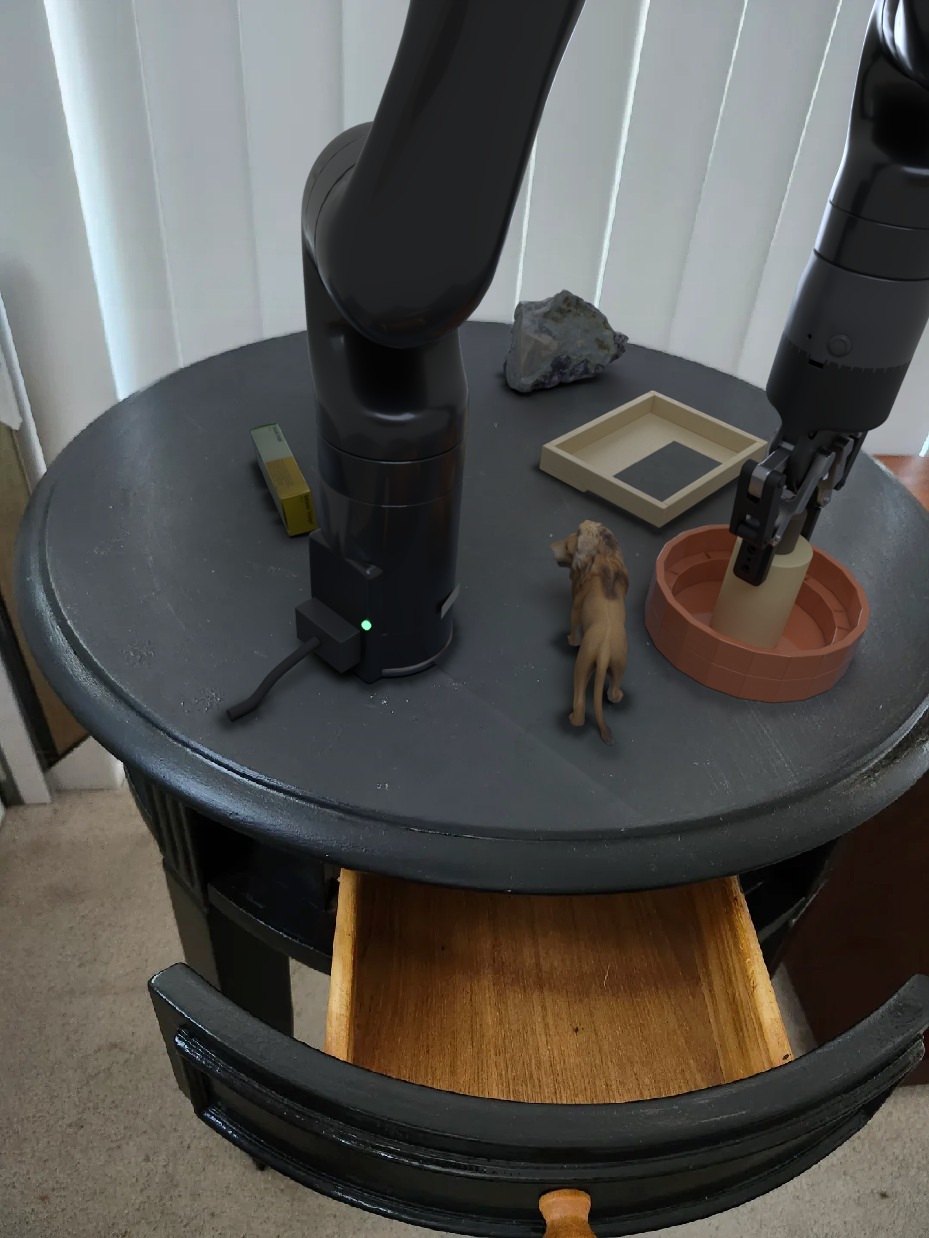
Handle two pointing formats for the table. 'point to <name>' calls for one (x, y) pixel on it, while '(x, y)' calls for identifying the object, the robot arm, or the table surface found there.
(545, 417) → the table surface
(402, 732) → the table surface
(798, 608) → the bowl
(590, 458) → the tray
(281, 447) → the medication box
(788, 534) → the bottle
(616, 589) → the lion figurine
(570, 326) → the mineral rock
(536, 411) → the table surface
